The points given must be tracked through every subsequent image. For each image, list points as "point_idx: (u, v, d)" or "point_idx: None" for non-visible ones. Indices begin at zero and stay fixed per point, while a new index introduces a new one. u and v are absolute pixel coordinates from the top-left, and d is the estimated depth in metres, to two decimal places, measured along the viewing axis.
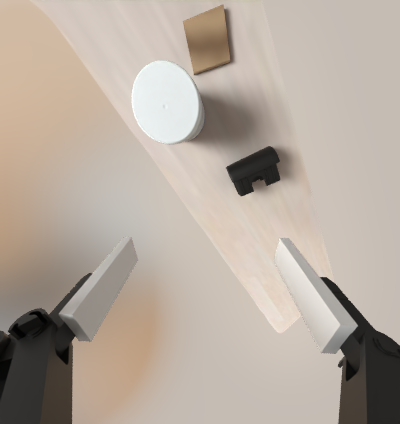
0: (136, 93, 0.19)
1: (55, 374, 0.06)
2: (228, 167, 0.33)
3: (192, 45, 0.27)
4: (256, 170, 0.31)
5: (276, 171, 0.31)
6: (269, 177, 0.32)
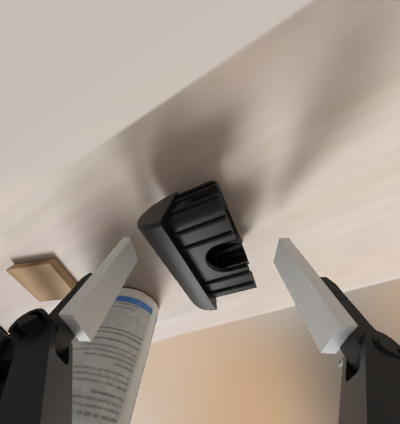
0: None
1: (55, 374, 0.06)
2: None
3: (54, 296, 0.23)
4: (187, 272, 0.11)
5: (193, 219, 0.10)
6: (210, 235, 0.11)
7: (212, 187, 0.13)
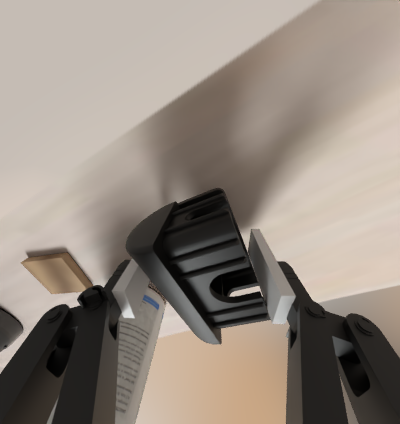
0: None
1: (107, 348, 0.07)
2: None
3: (65, 289, 0.24)
4: (187, 305, 0.09)
5: (195, 242, 0.08)
6: (217, 262, 0.08)
7: (219, 197, 0.10)
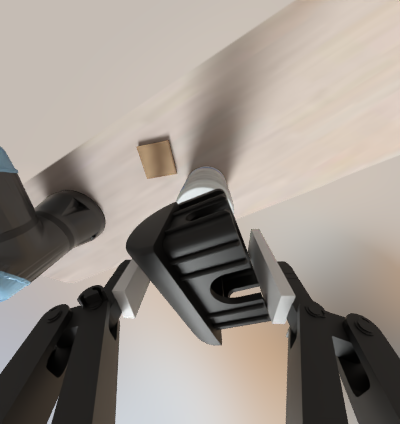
0: None
1: (107, 348, 0.07)
2: None
3: (159, 173, 0.34)
4: (187, 306, 0.09)
5: (196, 243, 0.08)
6: (217, 263, 0.08)
7: (220, 198, 0.10)
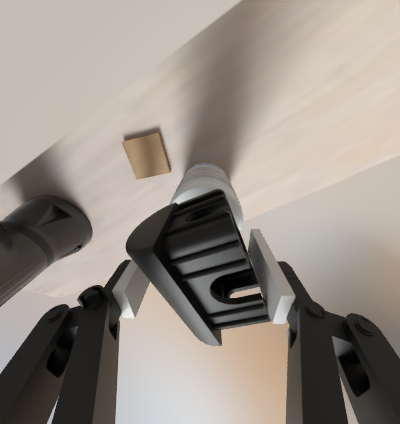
0: None
1: (107, 348, 0.07)
2: None
3: (150, 172, 0.29)
4: (187, 307, 0.09)
5: (195, 244, 0.08)
6: (217, 264, 0.08)
7: (219, 199, 0.10)
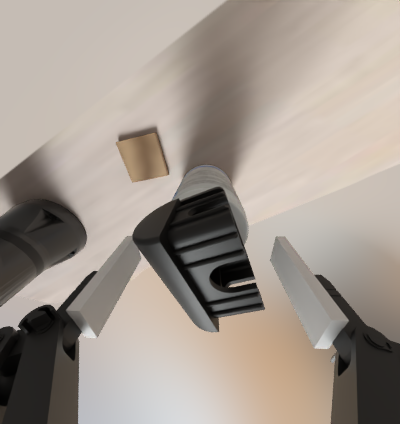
0: None
1: (62, 370, 0.06)
2: None
3: (146, 175, 0.27)
4: (188, 294, 0.10)
5: (197, 235, 0.09)
6: (217, 254, 0.09)
7: (219, 195, 0.11)
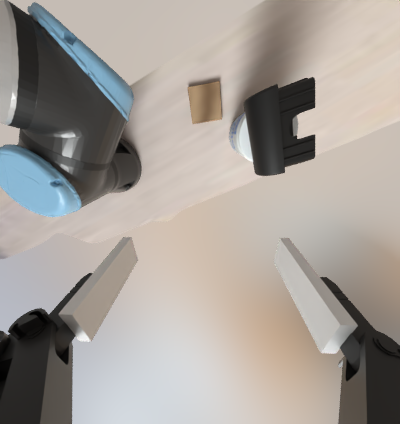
0: None
1: (55, 374, 0.06)
2: (257, 172, 0.23)
3: (205, 117, 0.35)
4: (278, 131, 0.18)
5: (293, 88, 0.17)
6: (300, 103, 0.17)
7: None
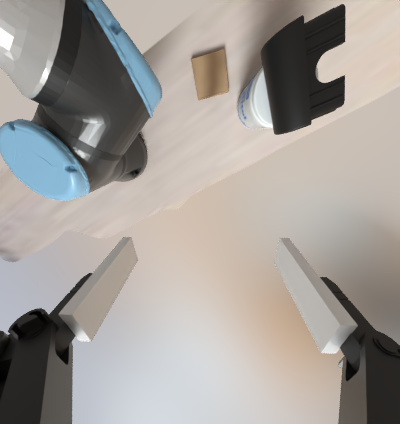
0: (269, 119, 0.24)
1: (55, 374, 0.06)
2: (278, 131, 0.21)
3: (211, 91, 0.34)
4: (304, 74, 0.16)
5: (320, 20, 0.15)
6: (328, 38, 0.15)
7: None
